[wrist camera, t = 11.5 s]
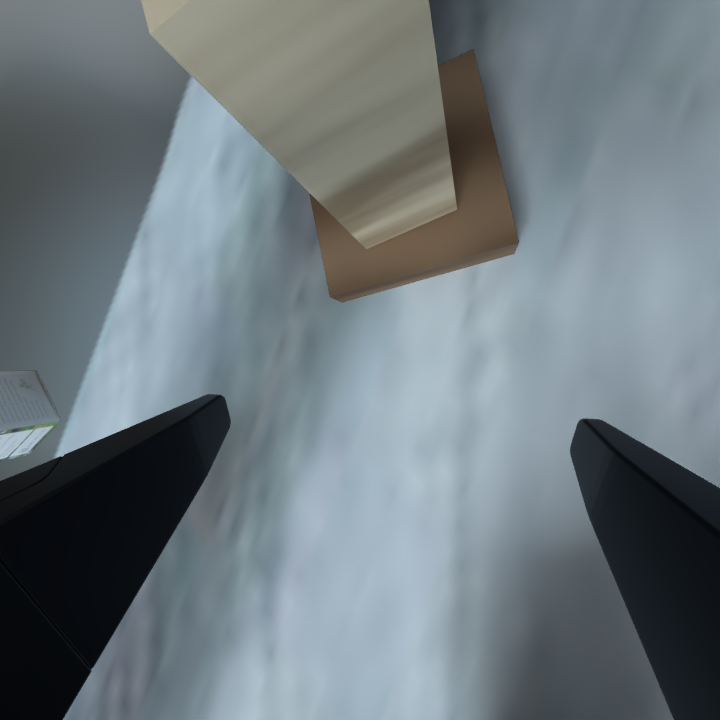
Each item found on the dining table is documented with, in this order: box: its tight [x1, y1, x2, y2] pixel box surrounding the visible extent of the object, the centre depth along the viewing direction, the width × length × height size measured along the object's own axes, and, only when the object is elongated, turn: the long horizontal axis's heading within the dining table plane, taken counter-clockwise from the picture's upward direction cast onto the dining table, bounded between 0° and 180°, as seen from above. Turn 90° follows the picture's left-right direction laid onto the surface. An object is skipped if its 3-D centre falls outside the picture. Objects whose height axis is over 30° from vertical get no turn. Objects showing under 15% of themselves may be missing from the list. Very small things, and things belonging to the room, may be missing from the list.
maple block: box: [141, 0, 457, 249], centre depth 12 cm, size 5×5×13 cm
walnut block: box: [309, 50, 519, 302], centre depth 19 cm, size 10×10×2 cm
